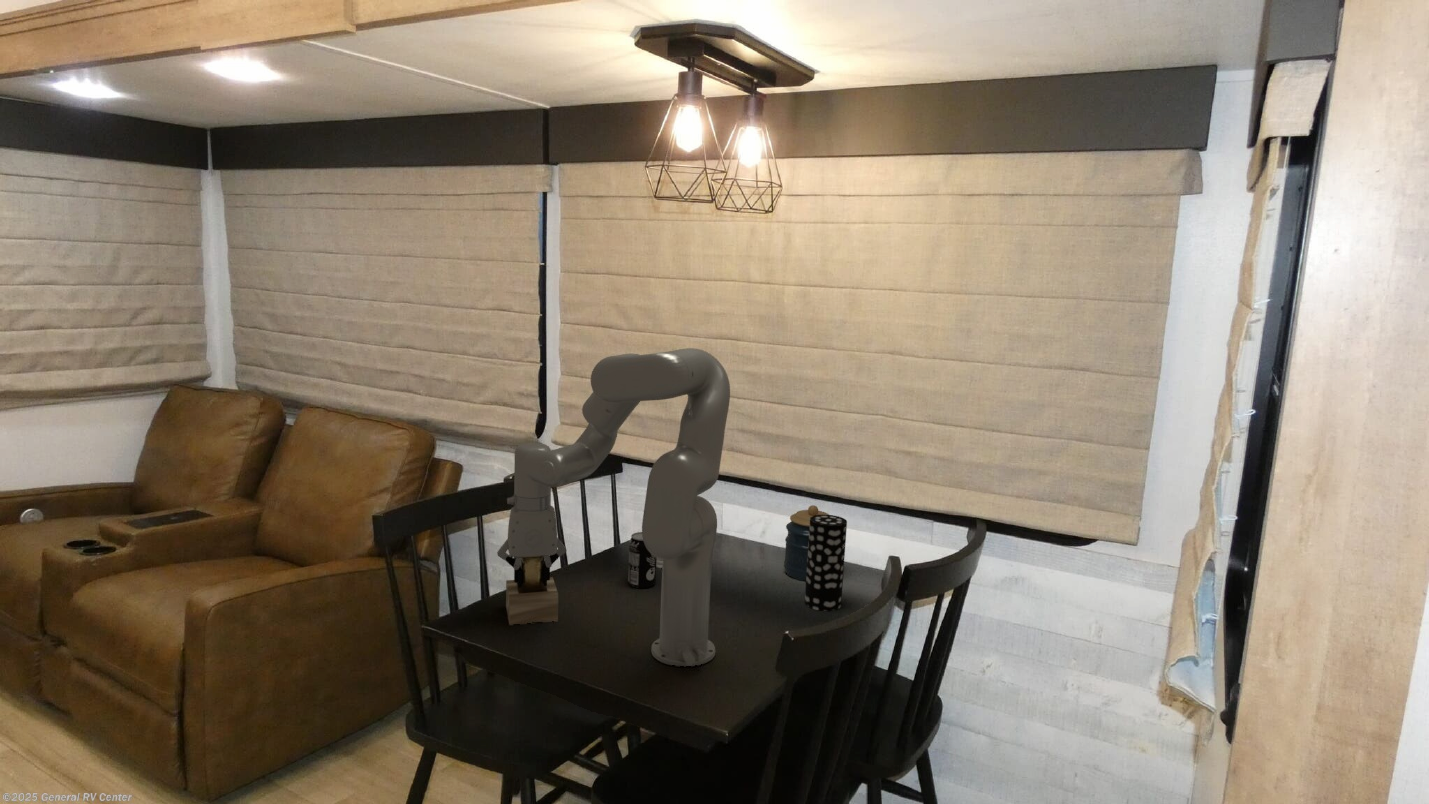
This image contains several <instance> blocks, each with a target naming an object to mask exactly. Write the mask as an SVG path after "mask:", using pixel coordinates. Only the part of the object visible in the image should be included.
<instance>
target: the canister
mask: <svg viewBox="0 0 1429 804" xmlns="http://www.w3.org/2000/svg"><path fill="white" fill-rule="evenodd" d="M815 515H830V514H829V513H828V512H825V511H821V510H819V508H818V506H816V505H813V504H812V505H810V506H808V509H802V510H797V511H796V513H793V514H791V515H790V517H789V519H790V522H788V523H787V524H786V525H785V529H786V531H787V536H785V553H784V561H783V568H784V573H785V572H786V573H787V574H786V573H785V574H786V575H787V576H788V577H790V576H791V578H793V579H795V578H796V580H799V581H804V580H806V574H807V558H808V542H809V526H810V517H812V516H815Z"/></svg>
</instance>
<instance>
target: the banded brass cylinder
mask: <svg viewBox="0 0 1429 804" xmlns="http://www.w3.org/2000/svg"><path fill="white" fill-rule="evenodd" d="M543 562H544V557H543V556H539V557H523V558H522V560H521V569H522V593H533V592H542V591H543Z"/></svg>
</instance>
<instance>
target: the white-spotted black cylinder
mask: <svg viewBox="0 0 1429 804" xmlns="http://www.w3.org/2000/svg"><path fill="white" fill-rule="evenodd" d="M847 527H848V521H847V519H846V518H844V517H842V516H839V515H833V514H829V515H815V516H812V517H810V526H809V542H808V558H807V574H806V581H805V592H804V605H805V606H807V607H808V608H810V609H813V610H817V611H822V612H832V611H837V610H839V609H840V608H842V597H843V586H844V585H843V583H844V572H845V571H844V569H845V558H846V553H845V552H846V540H847Z"/></svg>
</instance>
